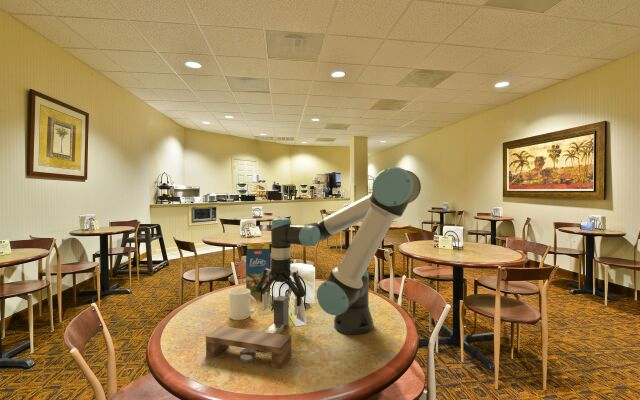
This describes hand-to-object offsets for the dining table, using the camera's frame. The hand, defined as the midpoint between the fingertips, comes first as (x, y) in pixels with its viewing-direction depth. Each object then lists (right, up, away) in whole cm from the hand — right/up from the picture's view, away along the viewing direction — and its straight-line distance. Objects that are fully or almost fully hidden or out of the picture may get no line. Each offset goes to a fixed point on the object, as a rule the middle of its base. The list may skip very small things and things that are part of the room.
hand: (280, 312), depth 119 cm
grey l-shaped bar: (-2, -6, -8) cm, 10 cm away
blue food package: (-18, -5, +46) cm, 50 cm away
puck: (-7, -6, -24) cm, 26 cm away
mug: (-17, -6, +9) cm, 20 cm away
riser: (-7, -6, -22) cm, 24 cm away
